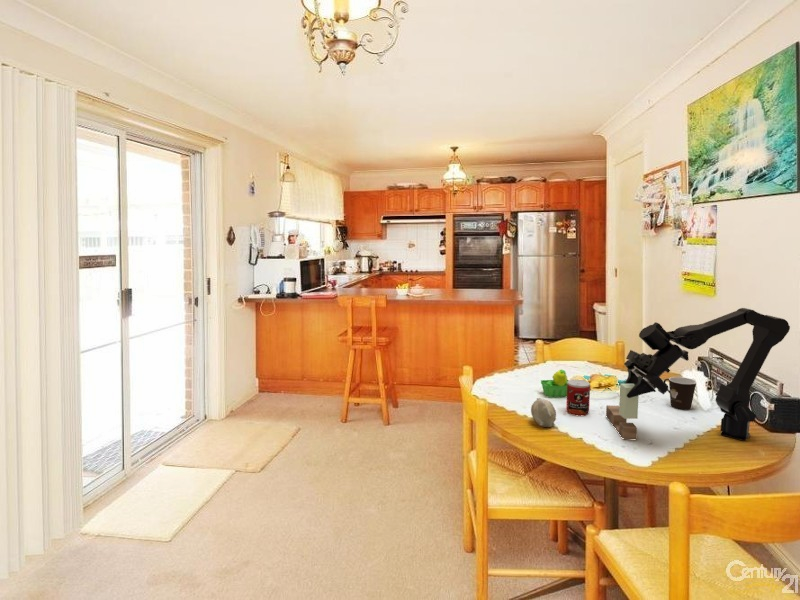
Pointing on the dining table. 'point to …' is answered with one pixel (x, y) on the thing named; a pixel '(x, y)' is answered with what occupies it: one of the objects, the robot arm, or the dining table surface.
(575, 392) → the canned food
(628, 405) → the post
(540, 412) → the grey faceted lump
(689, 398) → the coffee mug
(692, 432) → the dining table surface
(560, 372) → the fruit basket
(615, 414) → the rail
